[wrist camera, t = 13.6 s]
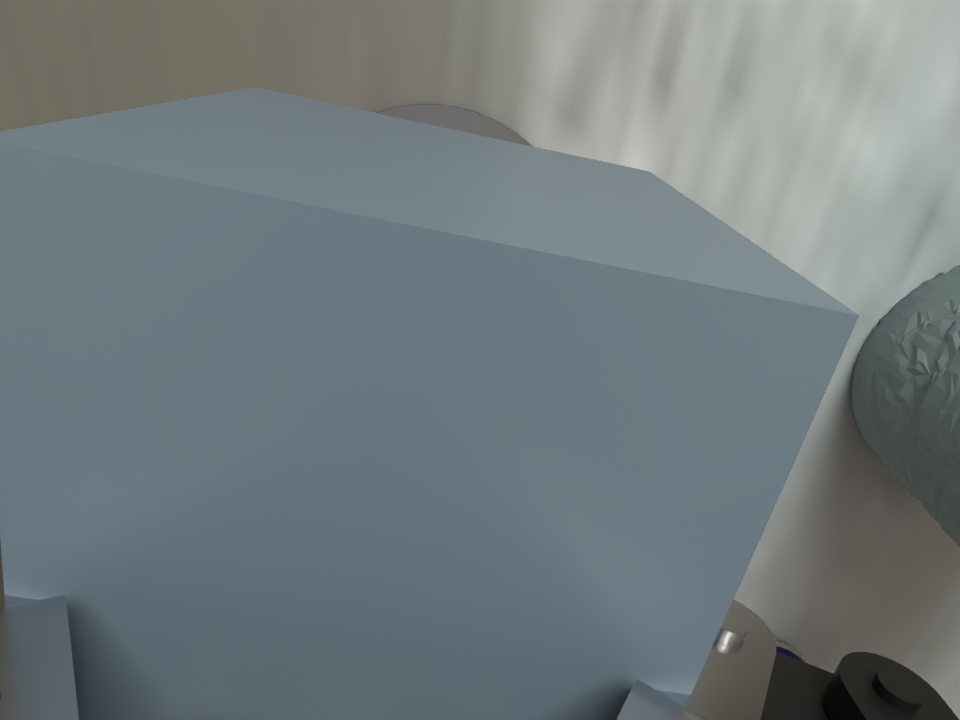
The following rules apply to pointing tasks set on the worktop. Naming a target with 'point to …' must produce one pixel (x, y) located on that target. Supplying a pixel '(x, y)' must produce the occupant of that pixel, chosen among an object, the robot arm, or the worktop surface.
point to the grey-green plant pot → (916, 395)
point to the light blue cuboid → (381, 414)
